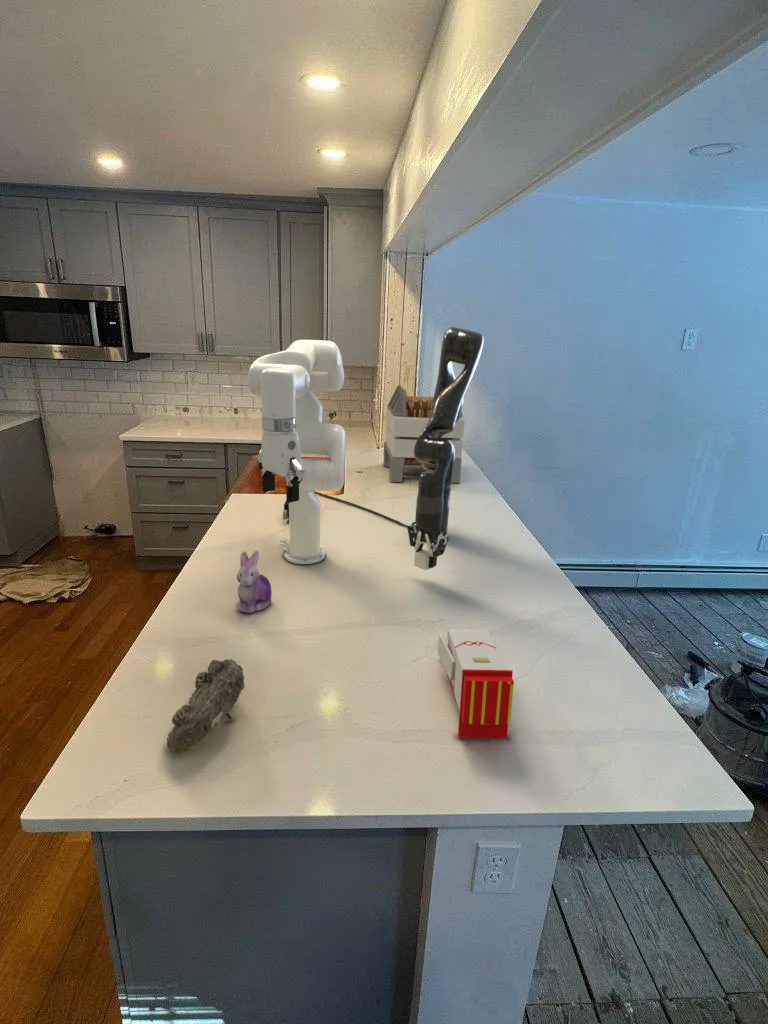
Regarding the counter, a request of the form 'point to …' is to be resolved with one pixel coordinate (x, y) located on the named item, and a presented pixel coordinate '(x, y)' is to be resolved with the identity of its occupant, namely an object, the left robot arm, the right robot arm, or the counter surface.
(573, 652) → the counter surface
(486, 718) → the toy
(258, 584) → the figurine
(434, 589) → the counter surface
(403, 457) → the white wooden crate
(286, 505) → the figurine character
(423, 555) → the block
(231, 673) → the fossil
